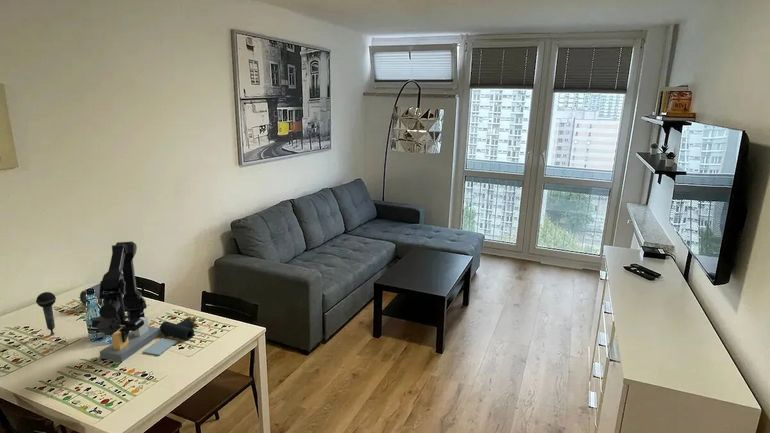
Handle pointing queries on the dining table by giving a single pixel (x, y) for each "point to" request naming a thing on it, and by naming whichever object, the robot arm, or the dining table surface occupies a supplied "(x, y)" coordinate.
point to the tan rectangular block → (118, 341)
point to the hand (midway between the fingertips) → (120, 341)
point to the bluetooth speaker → (97, 291)
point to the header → (130, 345)
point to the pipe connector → (180, 328)
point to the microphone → (47, 308)
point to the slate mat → (160, 346)
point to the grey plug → (142, 328)
